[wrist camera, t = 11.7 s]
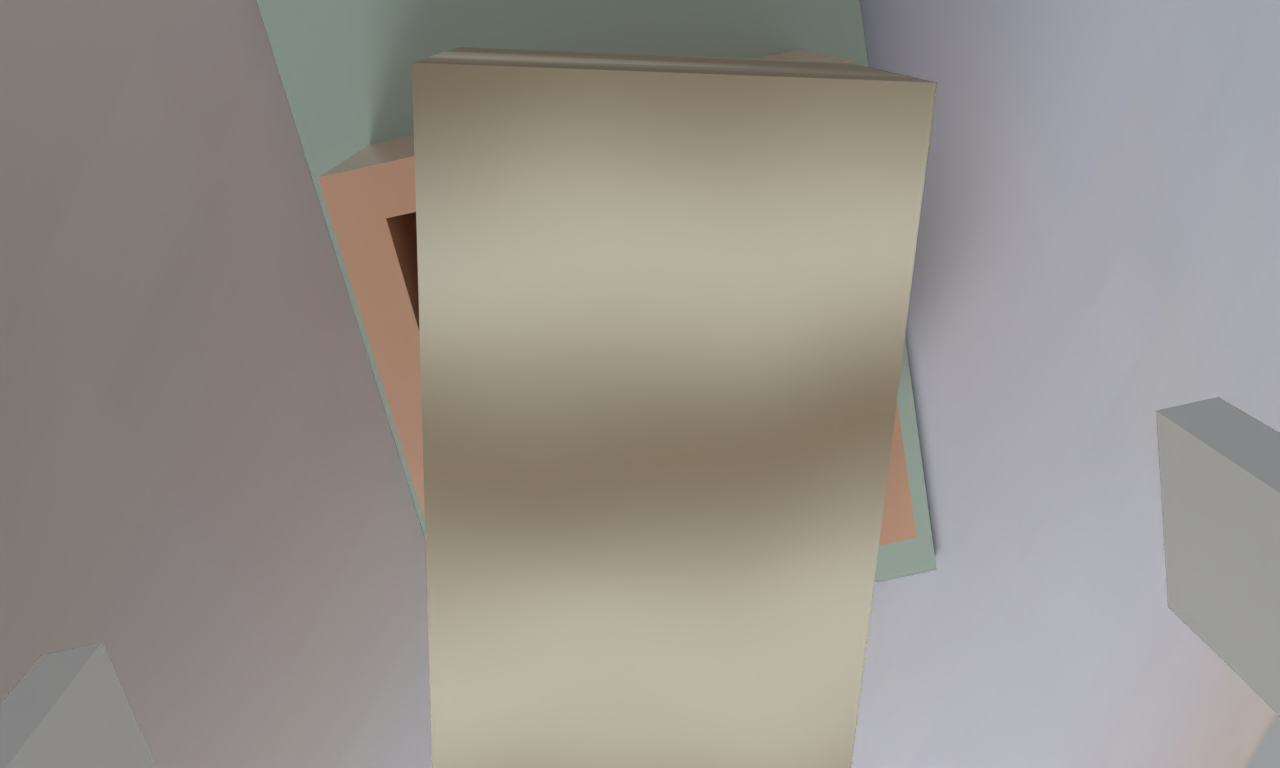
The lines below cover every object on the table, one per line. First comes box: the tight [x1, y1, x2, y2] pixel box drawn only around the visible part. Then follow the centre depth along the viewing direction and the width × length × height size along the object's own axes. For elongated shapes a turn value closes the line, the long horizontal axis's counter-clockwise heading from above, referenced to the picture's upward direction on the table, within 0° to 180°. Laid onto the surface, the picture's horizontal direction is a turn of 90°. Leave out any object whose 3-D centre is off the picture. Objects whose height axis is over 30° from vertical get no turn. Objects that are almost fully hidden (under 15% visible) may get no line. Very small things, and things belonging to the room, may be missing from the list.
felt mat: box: [256, 0, 937, 583], centre depth 26 cm, size 18×13×1 cm
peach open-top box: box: [318, 49, 917, 545], centre depth 24 cm, size 10×10×5 cm
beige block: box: [412, 47, 937, 768], centre depth 19 cm, size 12×7×6 cm, turn 178°
